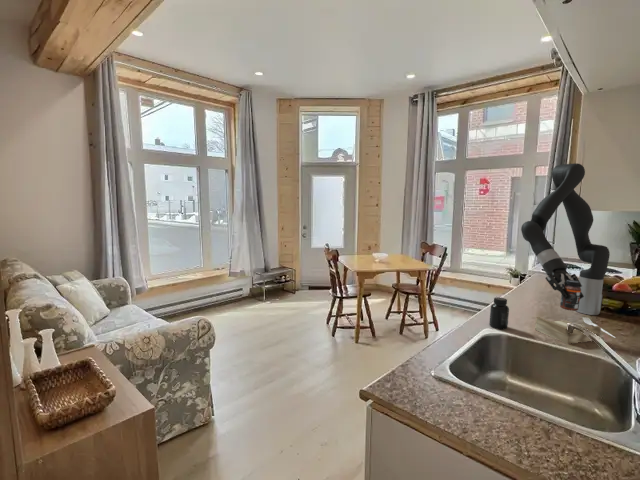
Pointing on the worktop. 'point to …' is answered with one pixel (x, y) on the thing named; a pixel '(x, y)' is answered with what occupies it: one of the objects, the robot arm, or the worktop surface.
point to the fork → (595, 325)
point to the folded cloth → (563, 331)
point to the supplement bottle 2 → (575, 296)
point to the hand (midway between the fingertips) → (575, 298)
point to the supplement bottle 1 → (499, 313)
